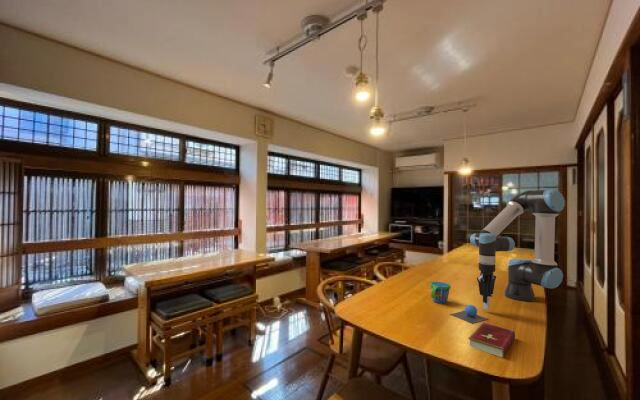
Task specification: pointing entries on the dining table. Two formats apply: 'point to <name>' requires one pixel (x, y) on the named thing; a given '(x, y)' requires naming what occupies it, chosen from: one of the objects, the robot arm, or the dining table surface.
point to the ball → (470, 310)
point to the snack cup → (440, 292)
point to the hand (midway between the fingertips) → (486, 308)
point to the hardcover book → (492, 339)
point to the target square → (468, 317)
